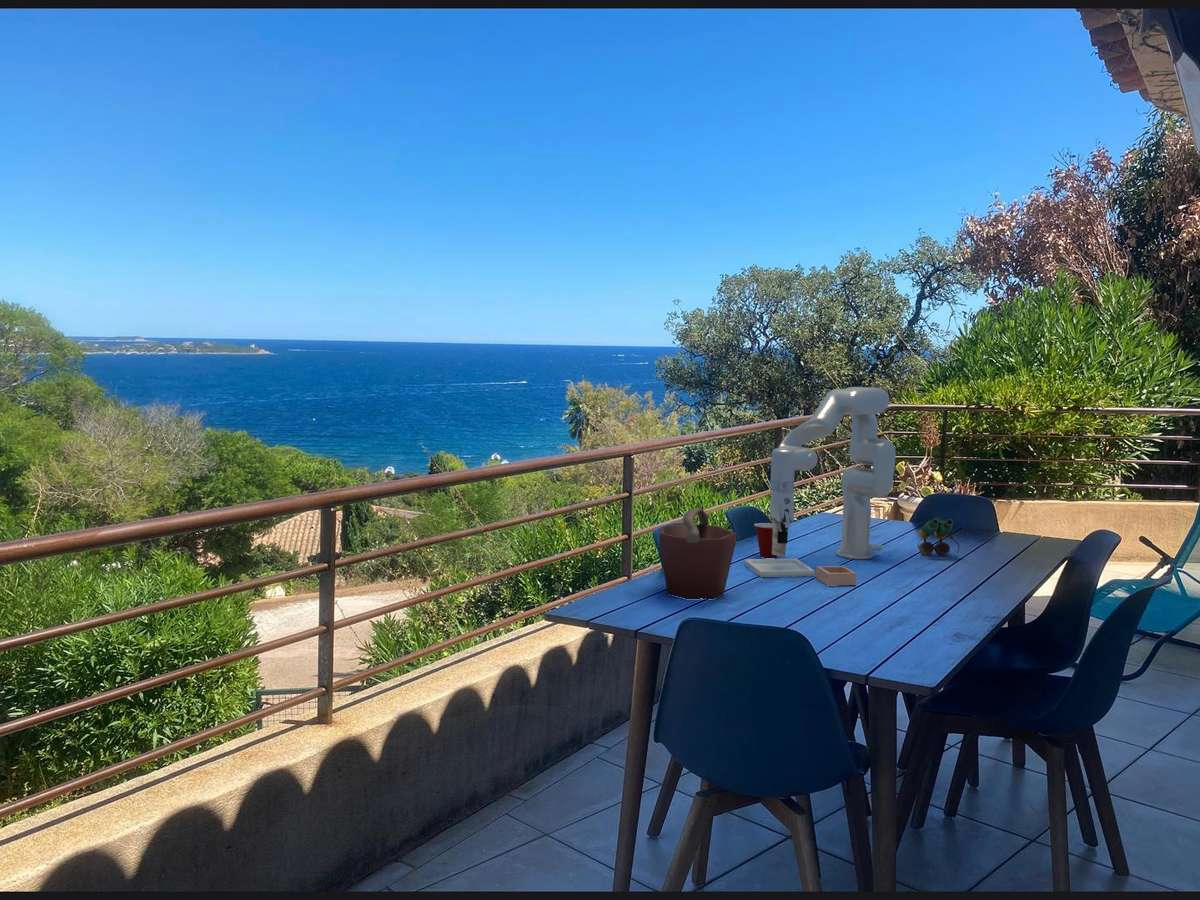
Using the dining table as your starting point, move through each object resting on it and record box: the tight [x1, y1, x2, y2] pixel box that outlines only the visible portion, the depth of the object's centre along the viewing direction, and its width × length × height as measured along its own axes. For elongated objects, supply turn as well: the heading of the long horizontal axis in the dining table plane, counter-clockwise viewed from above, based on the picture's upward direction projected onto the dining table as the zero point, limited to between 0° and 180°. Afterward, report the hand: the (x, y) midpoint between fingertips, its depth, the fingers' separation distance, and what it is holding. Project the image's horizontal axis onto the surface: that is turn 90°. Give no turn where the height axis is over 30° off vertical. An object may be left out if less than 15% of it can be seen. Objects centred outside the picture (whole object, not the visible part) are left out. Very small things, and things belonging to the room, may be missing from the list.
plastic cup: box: [754, 522, 778, 558], centre depth 287 cm, size 11×11×12 cm
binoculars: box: [917, 517, 960, 561], centre depth 290 cm, size 14×14×15 cm
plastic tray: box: [744, 557, 816, 578], centre depth 269 cm, size 18×16×2 cm
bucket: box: [659, 508, 737, 599], centre depth 241 cm, size 24×22×25 cm
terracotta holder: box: [815, 565, 857, 586], centre depth 256 cm, size 9×9×4 cm
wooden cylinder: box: [772, 518, 787, 557], centre depth 268 cm, size 4×4×12 cm
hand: (779, 541), depth 268 cm, fingers closed on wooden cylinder, 4 cm apart
